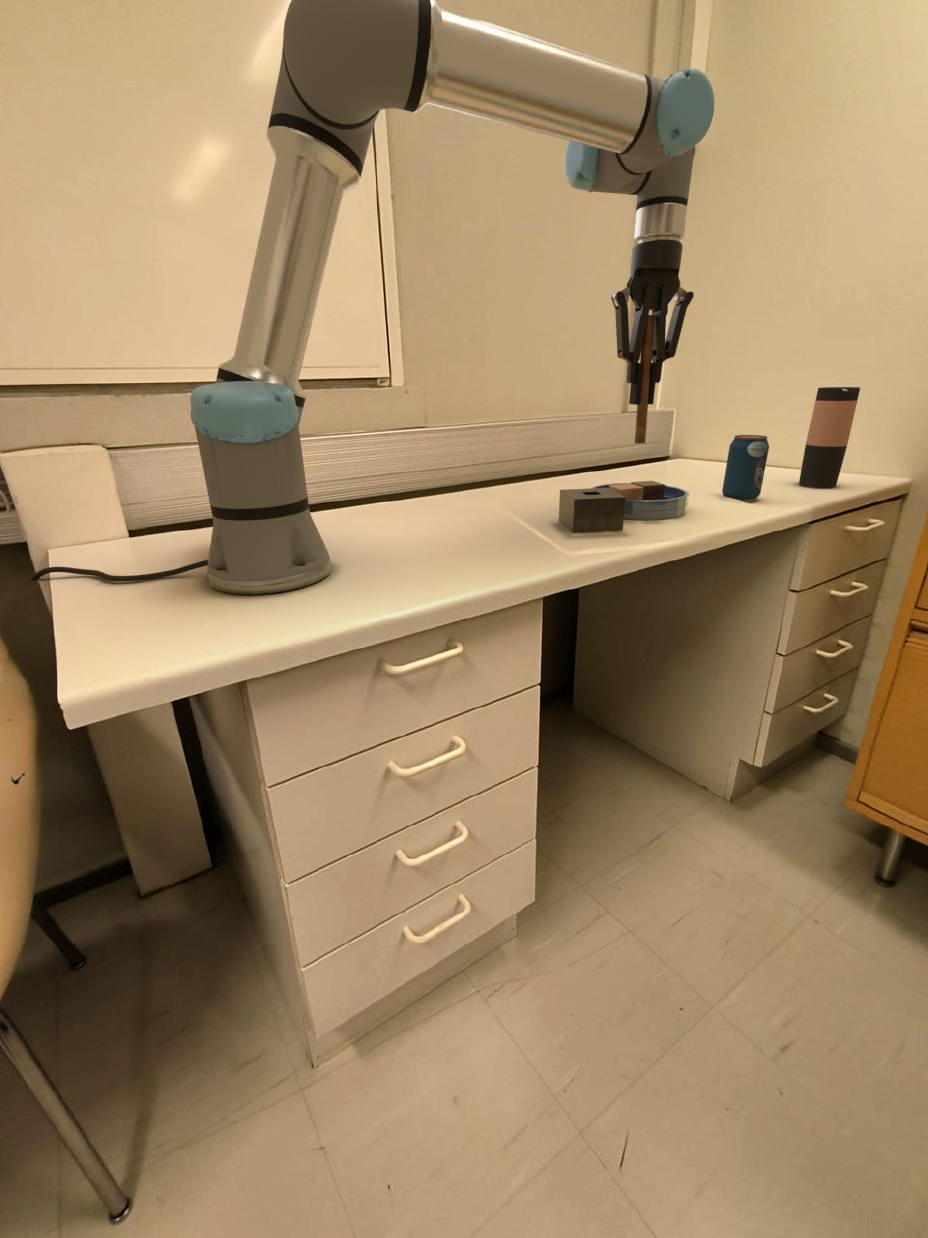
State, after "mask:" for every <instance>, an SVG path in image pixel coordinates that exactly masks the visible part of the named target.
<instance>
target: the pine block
mask: <svg viewBox="0 0 928 1238" xmlns="http://www.w3.org/2000/svg"><path fill="white" fill-rule="evenodd" d="M609 489H611V490H613V491H615V492H616V493H618V494H620V495H622V496H624V497H626V500H642V498H643V489H644V488H643V487H640V486H637V485H634V484H617V485H609Z"/></svg>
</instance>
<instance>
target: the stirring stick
mask: <svg viewBox="0 0 928 1238" xmlns="http://www.w3.org/2000/svg"><path fill="white" fill-rule="evenodd" d="M654 319H655V315H652V314H649V315H648V316H647V321H646V326H645V332H644V337H643V343H642V349H641V354H640V359H639V363H644V365H643V374H642V384H641V393H640V403H639V405H636V417H635V430H634V432H635V433H634V444H635V445H637V444H646V439H647V428H648V427H647V426H648V413H649V404H648V400H649V386H650V373H651V363H652V346H653V333H654Z"/></svg>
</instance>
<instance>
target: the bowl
mask: <svg viewBox="0 0 928 1238" xmlns="http://www.w3.org/2000/svg"><path fill="white" fill-rule="evenodd" d="M617 484H631V482H618V483H617V482H615V483H606V484H599V485H595V486H592V487H590V488H589V489H592V488H609V485H617ZM689 498H690V493H689V491H688V490H686V489H684V488H680V487H677V486H671V485H666V484H665V491H664V499H663V500H650V501H648V500H626V501H625V512H624V520H629V521H630V520H632V521H658V520H668V519H675V518H679V517H682V516H685V514H686V513H687V512H688V505H689Z"/></svg>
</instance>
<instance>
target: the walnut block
mask: <svg viewBox="0 0 928 1238" xmlns="http://www.w3.org/2000/svg"><path fill="white" fill-rule="evenodd" d="M630 483H631V484H634V485H637V486H640V487H643V488H644V489H643V498H642V500H648V501H650V500H663V499H664V491H665V485H666V484H664V483H661V482H658V481H654V480H644V481H643V480H642V481H631V482H630Z"/></svg>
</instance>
